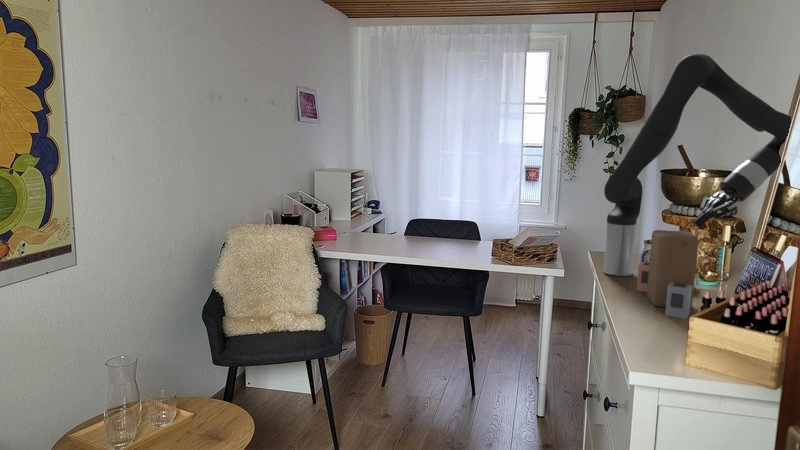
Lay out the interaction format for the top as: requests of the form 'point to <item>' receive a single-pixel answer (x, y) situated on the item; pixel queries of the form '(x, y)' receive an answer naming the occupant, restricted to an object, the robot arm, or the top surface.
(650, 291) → the wooden block
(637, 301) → the top surface
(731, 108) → the robot arm
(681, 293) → the slate tagged block
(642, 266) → the terracotta tagged block
